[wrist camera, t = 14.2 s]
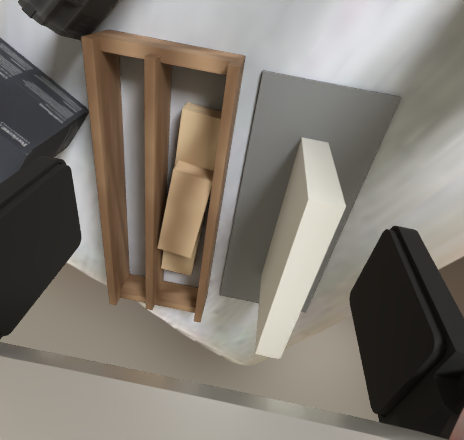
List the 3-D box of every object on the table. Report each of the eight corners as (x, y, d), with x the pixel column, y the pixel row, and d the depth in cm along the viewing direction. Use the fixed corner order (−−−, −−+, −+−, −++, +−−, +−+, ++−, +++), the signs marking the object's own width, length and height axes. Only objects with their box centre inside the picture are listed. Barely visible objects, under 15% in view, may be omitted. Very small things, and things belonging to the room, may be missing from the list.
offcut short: (216, 172, 38) (212, 182, 36) (194, 246, 45) (190, 258, 43) (178, 160, 38) (173, 169, 36) (163, 236, 45) (157, 248, 43)
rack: (245, 55, 33) (239, 67, 28) (207, 294, 54) (200, 322, 50) (108, 29, 33) (81, 36, 29) (123, 277, 54) (109, 303, 50)
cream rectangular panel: (328, 142, 37) (345, 206, 26) (281, 279, 49) (280, 359, 39) (301, 137, 37) (308, 199, 26) (261, 275, 50) (255, 353, 39)
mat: (399, 96, 33) (401, 97, 33) (305, 310, 53) (305, 312, 53) (263, 70, 33) (262, 71, 33) (220, 293, 54) (219, 295, 53)
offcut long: (227, 111, 37) (223, 120, 35) (195, 262, 51) (190, 275, 49) (188, 100, 37) (182, 108, 34) (166, 254, 51) (161, 268, 49)
